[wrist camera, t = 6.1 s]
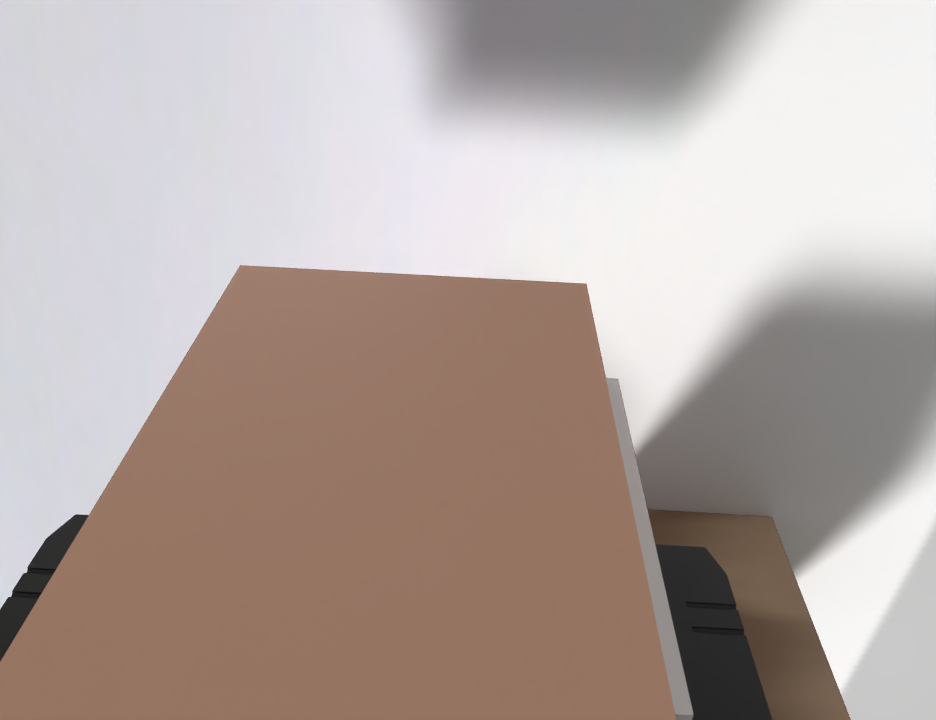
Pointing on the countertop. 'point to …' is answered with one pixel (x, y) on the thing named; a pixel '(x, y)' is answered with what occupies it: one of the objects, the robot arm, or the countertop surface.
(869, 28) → the countertop surface
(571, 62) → the countertop surface
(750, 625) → the walnut block
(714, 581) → the robot arm
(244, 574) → the terracotta block
